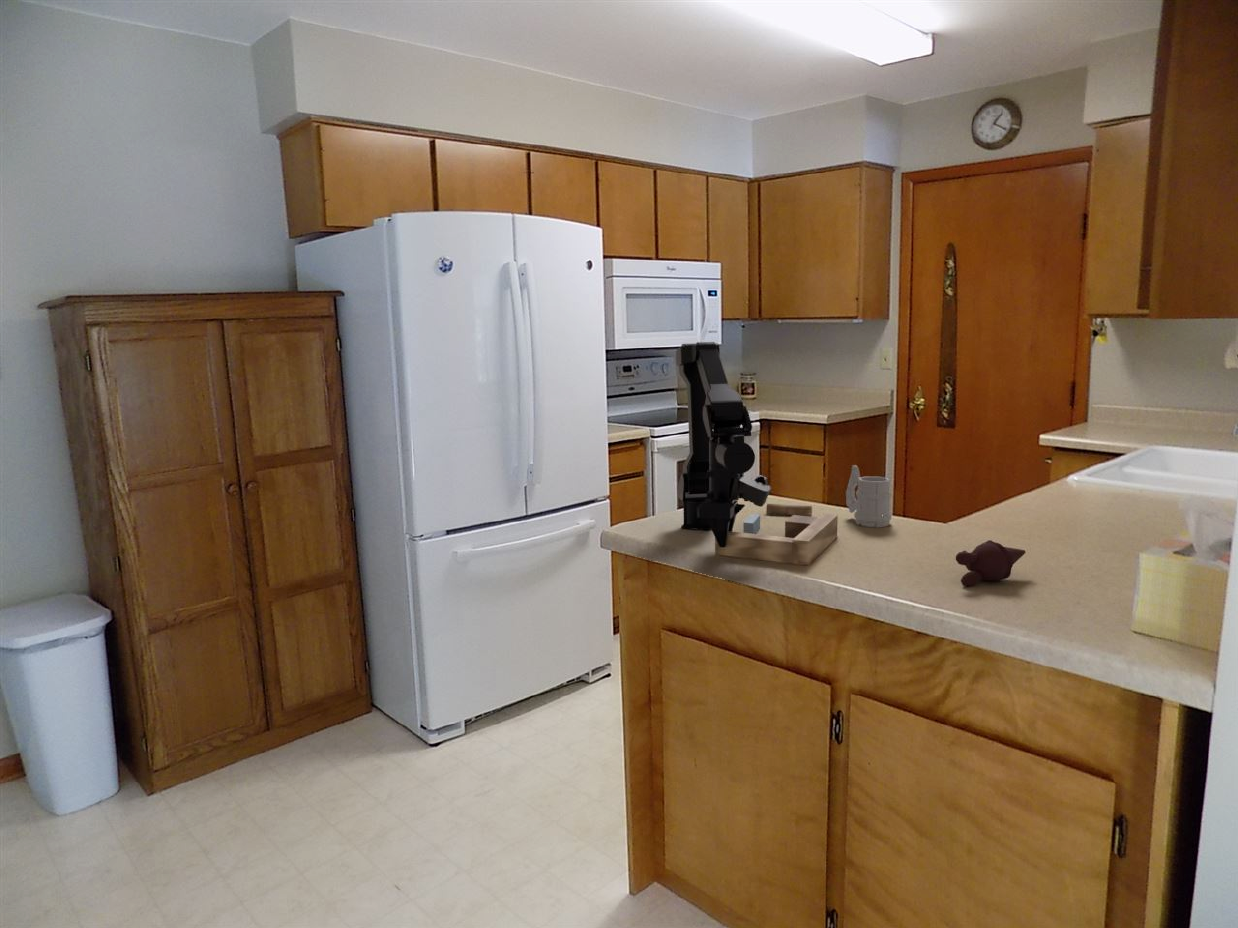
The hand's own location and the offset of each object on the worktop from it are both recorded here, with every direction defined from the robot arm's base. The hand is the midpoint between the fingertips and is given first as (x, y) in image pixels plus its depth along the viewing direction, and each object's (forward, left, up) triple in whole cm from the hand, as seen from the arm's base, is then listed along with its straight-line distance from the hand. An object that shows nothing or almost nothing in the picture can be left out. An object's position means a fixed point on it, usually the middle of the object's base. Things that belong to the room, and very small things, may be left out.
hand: (724, 544), depth 156 cm
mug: (+24, +33, -2) cm, 41 cm away
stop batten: (+2, +17, -2) cm, 17 cm away
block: (+13, +16, -2) cm, 21 cm away
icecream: (+46, -3, -2) cm, 47 cm away
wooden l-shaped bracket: (+9, +9, -2) cm, 12 cm away
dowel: (+7, +36, 0) cm, 37 cm away
